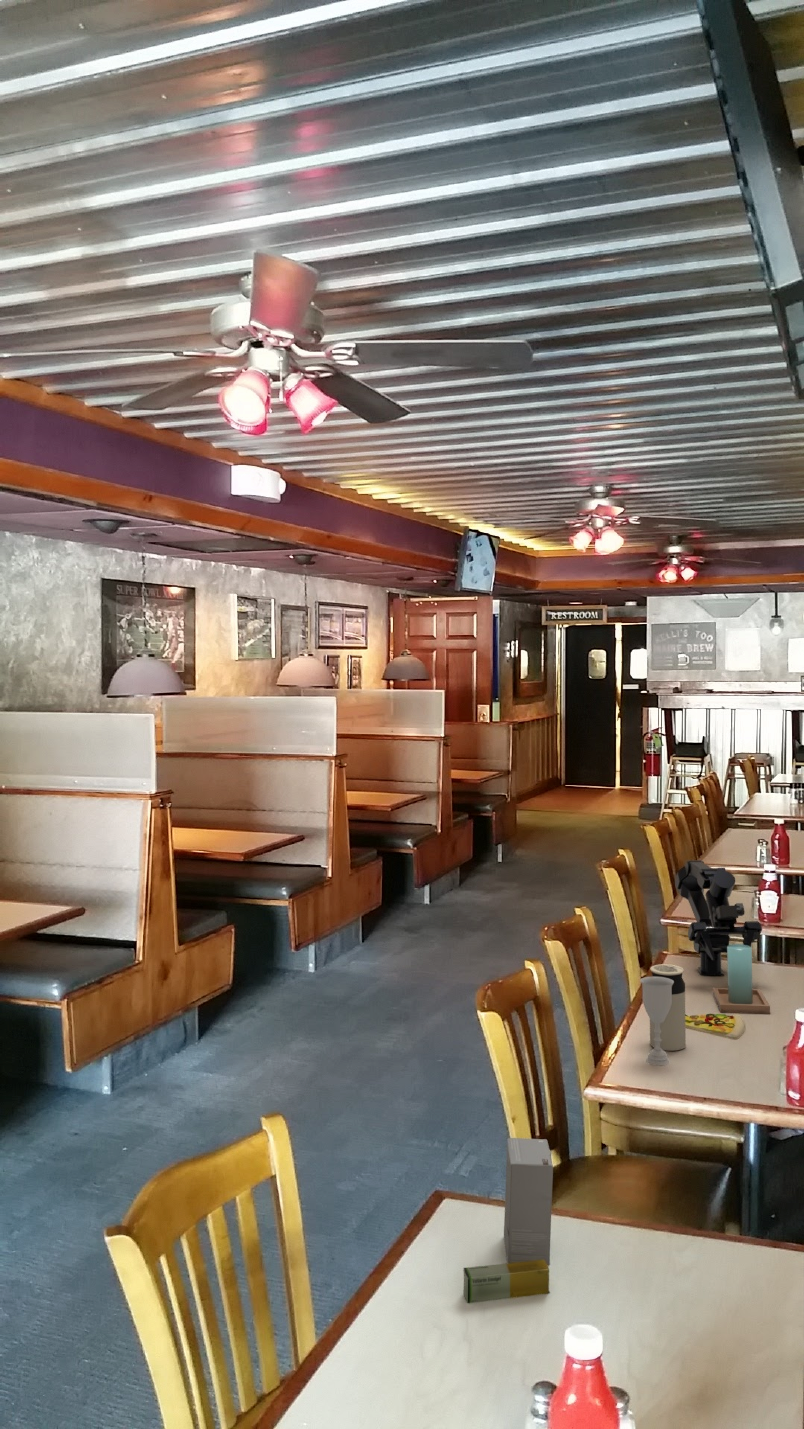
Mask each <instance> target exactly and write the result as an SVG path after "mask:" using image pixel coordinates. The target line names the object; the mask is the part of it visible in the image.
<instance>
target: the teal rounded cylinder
mask: <svg viewBox="0 0 804 1429" xmlns="http://www.w3.org/2000/svg"><path fill="white" fill-rule="evenodd" d="M752 950H753V947H752V946H751V947H750V946H748V945H743V943H742V944H739V943H736V944H734V943H733V944H729V945H728V946H727V953H726V955H727V956H726V957H727V958H726V959H727V960H726V961H727V988H728V1001H729V1002H730V1003H733V1004H751V1003H753V989H754V987H753V953H752V952H753V951H752Z"/></svg>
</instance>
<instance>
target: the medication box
mask: <svg viewBox="0 0 804 1429" xmlns="http://www.w3.org/2000/svg"><path fill="white" fill-rule="evenodd" d="M462 1270H463V1271H462V1272H463V1297H464V1301H465V1302H466V1303H467V1304H473V1303H480V1302H482V1303H483V1302H490V1301H491V1302H492V1301H499V1300H507V1299H514V1298H521V1297H531V1296H541V1295H546V1294H547V1295H548V1294H550V1293H551V1292H550V1268H549V1265H547V1264H546V1262H545V1261H544V1260H534V1261H524V1262H515V1263H508V1262H507V1263H506V1262H505V1263H499V1264H497V1263H496V1264H488V1265H480V1266H470V1267H463V1269H462Z"/></svg>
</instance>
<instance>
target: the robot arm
mask: <svg viewBox="0 0 804 1429" xmlns="http://www.w3.org/2000/svg"><path fill="white" fill-rule="evenodd" d="M735 884H736V878H735V876H734V875H733V874H732V873H731V872H729V871H727V870H726V867H711V866H709V865H707V864H706V863H705V862H704V861H703V860H698V859H697V860H695V859H694V860H687V861H685V864H684V865H683V866H682V867H681V868H680V869H679V870H677V872H676V875H675V879H674V887H675V889H676V890H677V892H678V893H679V896H680V897H682V898H684V899H686V900H688V904H689V905H690V909H691V911H692V913H693V916H694V918H695V920H696V921H695V922H694V921H692V922H690V924H689V927H688V931H687V937H688V940H689V941H690V942H693V949H694V951H695V952H696V953H697V954H700V955H699V956H700V957H699V958H700V960H699V961H700V962H699V963H700V966H699V967H697V970H698V973H699V975H700V976H722V977H723V976H725V973H724V971H723V968H722V953H725V954H727V946H728V945H730V940H731V936H730V935H741V936H742V938H743V939H742V945H748V946H750V947H752V943H754V942H755V941H757V940H759V938H760V936H761V934H762V931H763V926H762V924H761V923H760V922H759V921H758V920H756V921H755V920H754V921H753V920H752V921H751V920H747V921H744V924H743V925H742V926H735V925H736V924H737V922H738V921H737V919H738V918H739V917H743V916H744V915H745V913H746V912H745V907H744V904H743V902H739V903H738V902H736V903H735V904H734V905H730V902H729V897H731V894H732V893H733V889H734V886H735ZM705 890H707V891H706V892H705ZM704 893H705V895H704Z"/></svg>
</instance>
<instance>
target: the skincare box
mask: <svg viewBox="0 0 804 1429" xmlns="http://www.w3.org/2000/svg"><path fill="white" fill-rule="evenodd" d="M548 1142H549V1141H548V1140H547V1139H546V1138H544V1139H543V1138H542V1139H540V1138H524V1137H523V1138H522V1137H521V1138H520V1137H509V1138H507V1139H506V1167H505V1168H506V1169H505V1194H504V1195H505V1196H504V1197H505V1198H504V1218H503V1219H504V1221H503V1223H504V1224H503V1244H504V1250H505V1251H504V1252H505V1257H506V1262H507V1263H515V1262H524V1261H534V1260H544V1261H545V1262H546V1264H547V1266H550V1264H551V1263H550V1261H551V1257H550V1256H551V1233H552V1232H551V1231H552V1230H551V1229H552V1204H553V1203H552V1202H553V1201H552V1200H553V1182H554V1181H553V1180H554V1179H553V1178H554V1176H553V1175H554V1166H553V1161H552V1157H551V1155H552V1151H551V1149H550V1146H549V1143H548Z"/></svg>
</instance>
